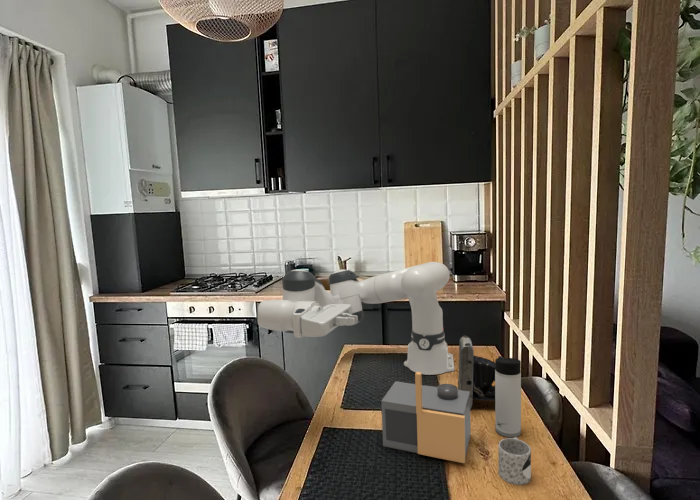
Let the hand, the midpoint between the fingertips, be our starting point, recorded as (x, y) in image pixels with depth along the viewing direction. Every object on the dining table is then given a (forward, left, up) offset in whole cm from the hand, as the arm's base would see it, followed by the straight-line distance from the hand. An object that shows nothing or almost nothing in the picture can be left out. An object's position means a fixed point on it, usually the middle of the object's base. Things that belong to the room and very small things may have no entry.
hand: (355, 320), depth 107 cm
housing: (-1, +18, -31) cm, 36 cm away
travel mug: (-12, +37, -31) cm, 50 cm away
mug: (+4, +39, -31) cm, 50 cm away
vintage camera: (-26, +30, -31) cm, 51 cm away
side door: (+6, +23, -30) cm, 38 cm away
